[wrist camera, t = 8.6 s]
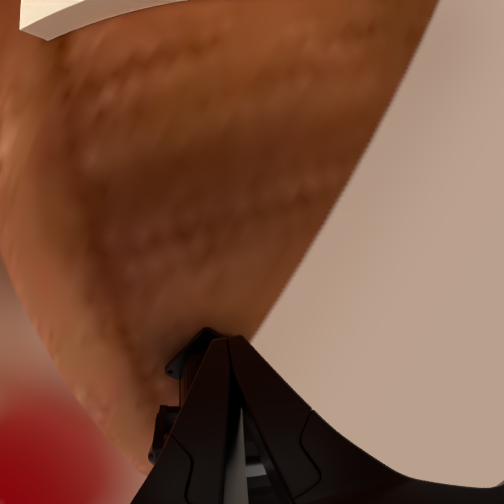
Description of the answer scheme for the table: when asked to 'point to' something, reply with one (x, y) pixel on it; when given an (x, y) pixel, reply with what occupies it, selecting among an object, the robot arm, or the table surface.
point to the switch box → (74, 14)
